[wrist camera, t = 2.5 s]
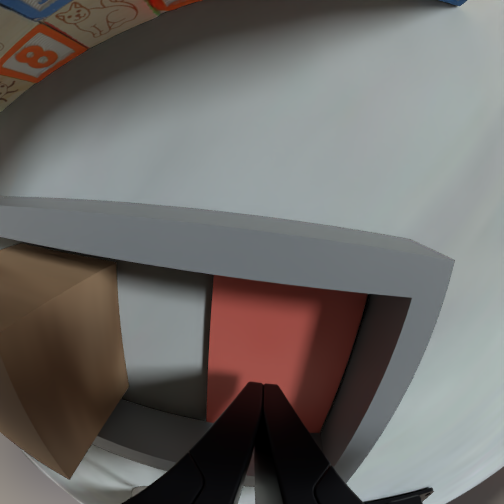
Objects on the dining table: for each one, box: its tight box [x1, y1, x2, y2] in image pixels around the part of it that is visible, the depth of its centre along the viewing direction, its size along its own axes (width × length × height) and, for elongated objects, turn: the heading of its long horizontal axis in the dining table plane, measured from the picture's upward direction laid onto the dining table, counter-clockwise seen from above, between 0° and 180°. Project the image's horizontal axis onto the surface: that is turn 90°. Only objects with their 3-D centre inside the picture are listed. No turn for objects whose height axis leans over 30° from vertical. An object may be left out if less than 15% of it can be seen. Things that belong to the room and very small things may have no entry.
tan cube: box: [0, 243, 129, 480], centre depth 7 cm, size 6×6×6 cm
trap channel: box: [0, 196, 455, 487], centre depth 8 cm, size 10×18×2 cm, turn 83°
